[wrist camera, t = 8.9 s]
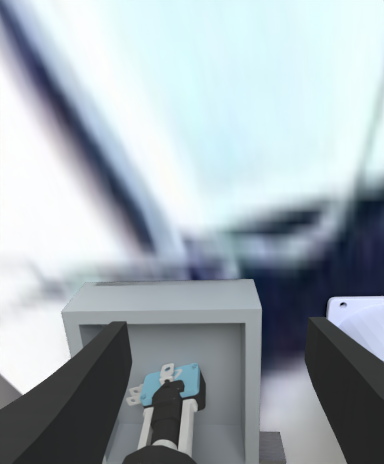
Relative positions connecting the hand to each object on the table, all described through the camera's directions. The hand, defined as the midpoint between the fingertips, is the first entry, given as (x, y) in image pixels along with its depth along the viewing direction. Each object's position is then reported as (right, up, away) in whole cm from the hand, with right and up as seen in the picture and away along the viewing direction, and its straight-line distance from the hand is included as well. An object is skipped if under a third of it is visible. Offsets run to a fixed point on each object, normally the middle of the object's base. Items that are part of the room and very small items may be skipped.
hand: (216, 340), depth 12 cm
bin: (-2, -7, +13) cm, 15 cm away
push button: (-3, -8, +13) cm, 16 cm away
